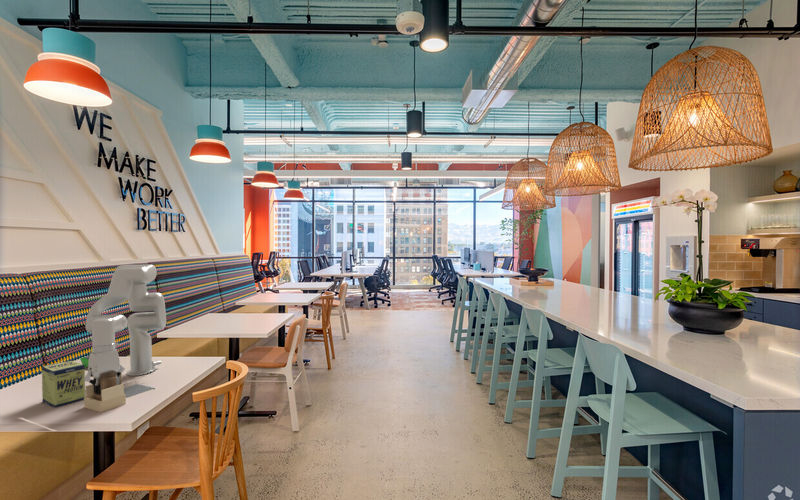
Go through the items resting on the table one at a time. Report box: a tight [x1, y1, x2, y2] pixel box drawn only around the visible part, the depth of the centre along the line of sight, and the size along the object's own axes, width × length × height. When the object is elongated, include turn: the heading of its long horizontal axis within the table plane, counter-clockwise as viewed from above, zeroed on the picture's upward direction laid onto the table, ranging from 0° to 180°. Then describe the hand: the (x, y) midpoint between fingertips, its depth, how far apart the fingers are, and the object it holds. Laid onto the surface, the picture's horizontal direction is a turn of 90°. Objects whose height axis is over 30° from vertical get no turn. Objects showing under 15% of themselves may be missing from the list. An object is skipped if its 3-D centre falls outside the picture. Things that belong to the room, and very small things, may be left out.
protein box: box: [41, 360, 86, 408], centre depth 168 cm, size 10×16×16 cm
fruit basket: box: [79, 348, 93, 368], centre depth 222 cm, size 11×9×11 cm
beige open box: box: [83, 383, 127, 413], centre depth 161 cm, size 9×12×9 cm
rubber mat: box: [124, 383, 156, 399], centre depth 177 cm, size 14×14×1 cm
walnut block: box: [94, 371, 117, 401], centre depth 162 cm, size 5×7×12 cm
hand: (105, 391), depth 162 cm, fingers closed on walnut block, 5 cm apart
